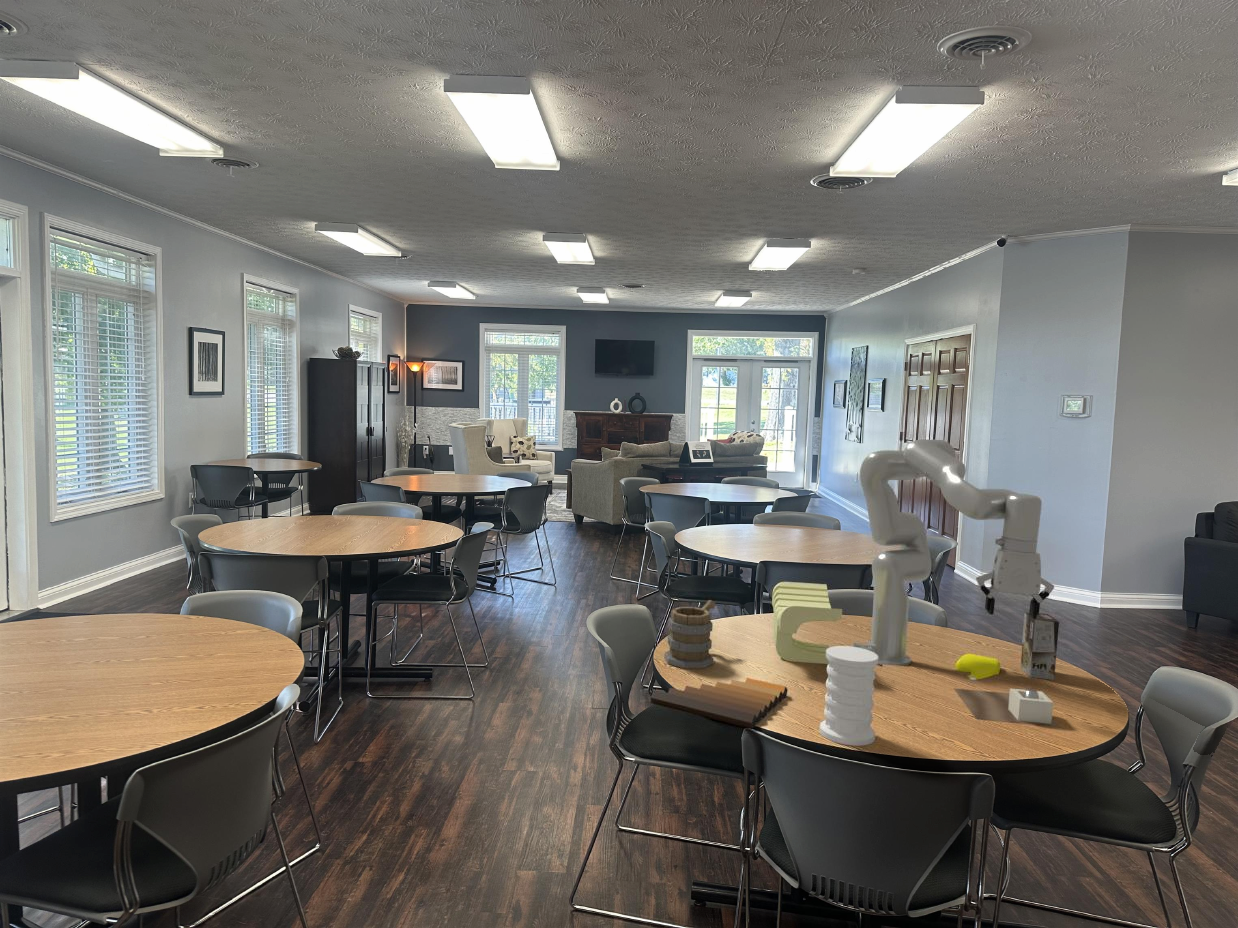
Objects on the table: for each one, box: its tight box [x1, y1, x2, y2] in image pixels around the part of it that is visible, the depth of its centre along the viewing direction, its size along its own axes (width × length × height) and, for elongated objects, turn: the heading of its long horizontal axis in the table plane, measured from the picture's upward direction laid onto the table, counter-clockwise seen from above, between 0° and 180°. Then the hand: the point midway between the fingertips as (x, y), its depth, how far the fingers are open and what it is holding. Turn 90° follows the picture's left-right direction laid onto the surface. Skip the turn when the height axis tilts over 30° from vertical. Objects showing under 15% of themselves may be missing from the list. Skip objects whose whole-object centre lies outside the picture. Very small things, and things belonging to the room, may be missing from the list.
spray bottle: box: [955, 653, 1001, 681], centre depth 213 cm, size 3×11×24 cm
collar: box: [1008, 688, 1054, 724], centre depth 181 cm, size 7×7×5 cm
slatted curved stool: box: [771, 581, 843, 665], centre depth 225 cm, size 30×16×18 cm, turn 173°
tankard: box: [664, 599, 717, 670], centre depth 218 cm, size 20×13×15 cm, turn 143°
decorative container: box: [819, 645, 879, 747], centre depth 170 cm, size 12×12×18 cm
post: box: [1025, 688, 1038, 699], centre depth 181 cm, size 2×2×6 cm
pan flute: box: [649, 677, 788, 730], centre depth 188 cm, size 25×3×25 cm
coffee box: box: [1020, 612, 1060, 681], centre depth 216 cm, size 9×6×16 cm
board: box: [953, 688, 1061, 728], centre depth 187 cm, size 18×20×2 cm
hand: (1011, 615), depth 189 cm, fingers open, 9 cm apart
